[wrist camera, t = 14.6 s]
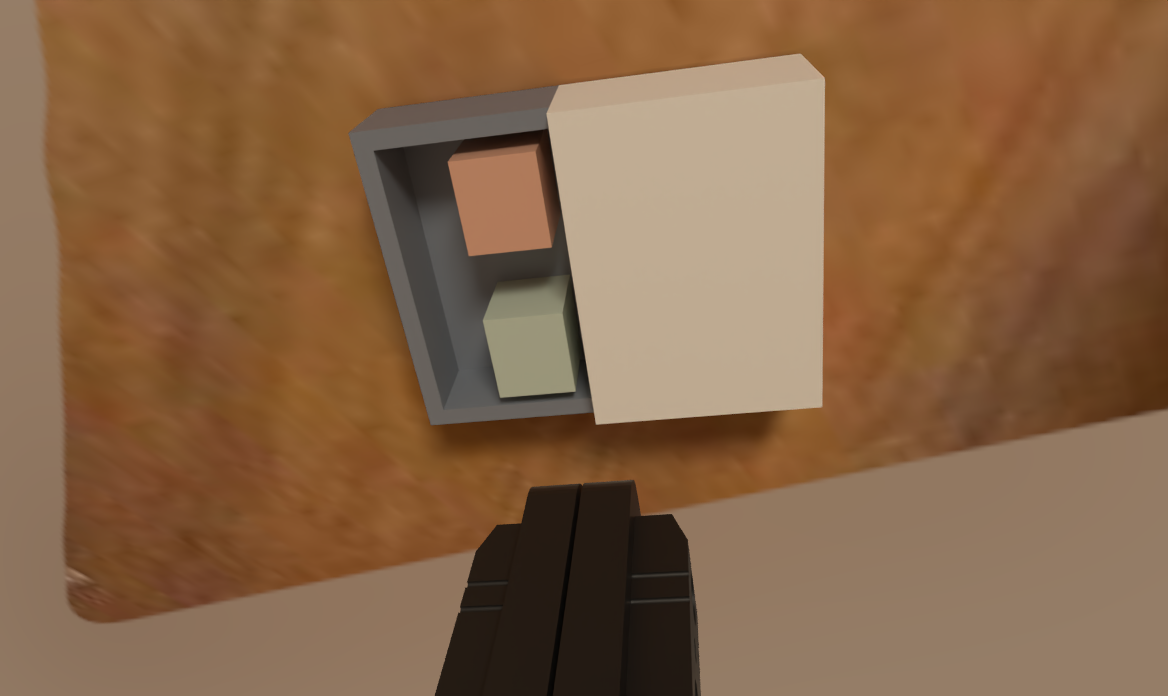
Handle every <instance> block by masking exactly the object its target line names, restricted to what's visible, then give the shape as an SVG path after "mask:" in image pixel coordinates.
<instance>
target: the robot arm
mask: <svg viewBox="0 0 1168 696" xmlns="http://www.w3.org/2000/svg"><path fill="white" fill-rule="evenodd" d="M467 582H468V587H467V588H465V592H464V595H463V599H462V602H461V606H460V608H461V611H460V613H458V616H457V620H456V623H455V627H454V630H453V634H452V637H451V641H450V644H449V648H448V651H447V655H446V658H445V662H444V665H443V669H442V672H441V676H440V679H439V683H438V686H437V690H436V693H435V696H701V691H700V668H699V650H698V648H699V643H698V622H697V609H696V602H695V594H694V586H693V578H692V571H691V562H690V555H689V547H688V540H687V538H686V536H685V535H684V533H683V531H682V530H681V528H680V527H679V525H678V524H677V522H676V520H675V519H674V517H673V515H672V514H666V515H650V516H641V514H640V508H639V502H638V495H637V490H636V485H635V482H634V480H625V481H611V482H596V483H584V484H583V486H582V485H581V484H569V485H555V486H540V487H531V489H530V490H529V493H528V497H527V501H526V505H525V510H524V514H523V519H522V523H521V524H504V525H497V526H496V527H495V528H494V530H493V531H492V532H491V533H490V535H489V536H488V537H487V538H486V540H485V541H484V542H483V543H482V545H481V546H480V547H479V548H478V550H477V551H476V553H475V557H474V560H473V563H472V567H471V571H470V574H469V578H468V581H467Z"/></svg>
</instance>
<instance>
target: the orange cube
mask: <svg viewBox="0 0 1168 696" xmlns="http://www.w3.org/2000/svg"><path fill="white" fill-rule="evenodd" d="M448 166H449V170H450V175H451V179H452V184H453V188H454V192H455V197H456V201H457V206H458V210H459V215H460V219H461V223H462V228H463V232H464V237H465V241H466V246H467V250H468V255H469V256H476V255H485V254H495V253H504V252H514V251H523V250H532V249H542V248H551V247H552V245H553V241H554V237H555V233H556V229H557V226H558V222H559V218H560V214H561V213H560V207H559V200H558V194H557V188H556V182H555V175H554V169H553V163H552V157H551V150H550V144H549V138H548V132H547V129H543V130H535V131H527V132H519V133H511V134H503V135H495V136H487V137H479V138H471V139H464V140H463V142H462V143H461V144H460V146H459V147H458V149H457V150H456V151H455V153H454V154H453V155H452V157H451V158H450V159H449V161H448Z"/></svg>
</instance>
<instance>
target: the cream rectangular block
mask: <svg viewBox="0 0 1168 696" xmlns="http://www.w3.org/2000/svg"><path fill="white" fill-rule="evenodd" d="M546 114H547V120H548V127H549V133H550V139H551V146H552V152H553V158H554V164H555V171H556V177H557V183H558V189H559V196H560V202H561V208H562V214H563V221H564V227H565V233H566V240H567V246H568V252H569V258H570V265H571V271H572V277H573V283H574V290H575V296H576V302H577V308H578V315H579V321H580V327H581V333H582V340H583V346H584V352H585V359H586V365H587V371H588V377H589V384H590V390H591V396H592V402H593V409H594V415H595V421H596V425H597V424H609V423H622V422H635V421H648V420H661V419H674V418H687V417H700V416H713V415H726V414H739V413H752V412H765V411H778V410H791V409H804V408H817V407H822V368H823V244H824V119H825V78H824V77H823V76H822V75H821V74H820V73H819V72H818V71H817V70H816V69H815V68H814V67H813V66H812V65H811V64H810V63H809V62H808V61H807V60H806V59H805V58H804V57H803V56H802V55H801V54H794V55H786V56H779V57H771V58H763V59H756V60H748V61H741V62H733V63H725V64H718V65H710V66H703V67H695V68H687V69H680V70H672V71H665V72H657V73H649V74H642V75H634V76H627V77H619V78H611V79H604V80H596V81H588V82H581V83H573V84H566V85H559V86H558V89H557V91H556V93H555V95H554V98H553V100H552V102H551V104H550V107H549V109H548V111H547V113H546Z"/></svg>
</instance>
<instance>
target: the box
mask: <svg viewBox="0 0 1168 696" xmlns="http://www.w3.org/2000/svg"><path fill="white" fill-rule="evenodd" d="M558 86H559V85H558ZM558 86H550V87H543V88H535V89H528V90H520V91H512V92H505V93H497V94H490V95H482V96H474V97H467V98H459V99H452V100H444V101H436V102H429V103H421V104H414V105H406V106H398V107H391V108H383V109H378V110H376V111H375V112H374V113H373V114H371V115H370V116H369V117H368V118H366V119H365V120H364V121H363V122H362V123H360V124H359V125H358V126H357V127H355V128H354V129H353V130H352V131H350V132H349V136H350V140H351V144H352V147H353V151H354V154H355V158H356V161H357V165H358V168H359V172H360V175H361V179H362V182H363V186H364V190H365V193H366V197H367V200H368V204H369V207H370V211H371V214H372V218H373V221H374V225H375V229H376V232H377V236H378V239H379V243H380V246H381V250H382V253H383V257H384V260H385V264H386V268H387V271H388V275H389V278H390V282H391V285H392V289H393V292H394V296H395V299H396V303H397V307H398V310H399V314H400V317H401V321H402V324H403V328H404V331H405V335H406V338H407V342H408V346H409V349H410V353H411V356H412V360H413V363H414V367H415V370H416V374H417V377H418V381H419V385H420V388H421V392H422V395H423V399H424V402H425V406H426V409H427V413H428V416H429V420H430V423H431V425H441V424H453V423H466V422H478V421H491V420H504V419H516V418H529V417H542V416H554V415H567V414H580V413H592V412H594V409H593V402H592V396H591V390H590V384H589V377H588V371H587V365H586V359H585V352H584V346H583V340H582V333H581V327H580V321H579V315H578V308H577V302H576V296H575V290H574V283H573V277H572V271H571V265H570V258H569V252H568V246H567V240H566V233H565V227H564V221H563V214H562V208H561V202H560V196H559V189H558V183H557V177H556V171H555V164H554V158H553V152H552V146H551V139H550V133H549V127H548V120H547V114H546V113H547V111H548V109H549V107H550V104H551V102H552V100H553V98H554V95H555V93H556V91H557V89H558ZM543 129H547V132H548V138H549V144H550V150H551V157H552V163H553V169H554V175H555V182H556V188H557V194H558V200H559V207H560V213H561V214H560V218H559V222H558V226H557V229H556V233H555V237H554V241H553V245H552V247H551V248H542V249H532V250H523V251H514V252H504V253H495V254H485V255H476V256H469V255H468V250H467V246H466V241H465V237H464V232H463V228H462V223H461V219H460V215H459V210H458V206H457V201H456V197H455V192H454V188H453V184H452V179H451V175H450V170H449V166H448V161H449V159H450V158H451V157H452V155H453V154H454V153H455V151H456V150H457V149H458V147H459V146H460V144H461V143H462V142H463V140H464V139H471V138H479V137H487V136H495V135H503V134H511V133H519V132H527V131H535V130H543ZM560 275H570V279H571V285H572V291H573V297H574V304H575V310H576V316H577V322H578V329H579V335H580V341H581V347H582V349H581V356H580V363H579V371H578V378H577V385H576V392H564V393H552V394H540V395H528V396H516V397H503V398H500V395H499V390H498V386H497V381H496V377H495V373H494V368H493V364H492V359H491V355H490V350H489V346H488V342H487V337H486V333H485V328H484V324H483V319H484V316H485V314H486V311H487V308H488V306H489V303H490V300H491V298H492V295H493V292H494V290H495V287H496V284H497V282H501V281H511V280H520V279H530V278H540V277H550V276H560Z"/></svg>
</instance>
